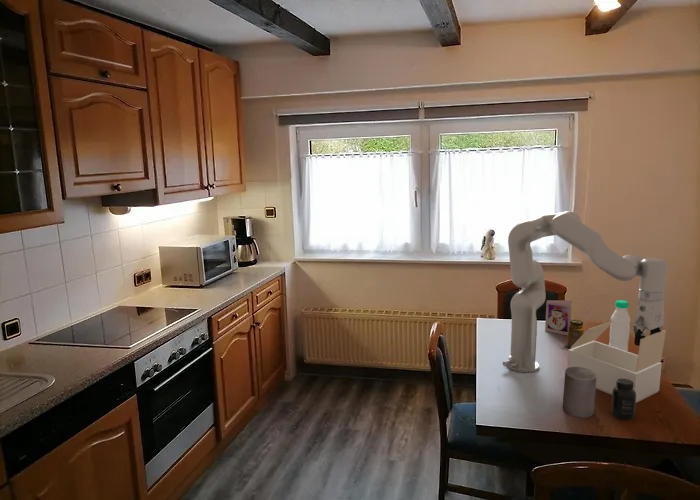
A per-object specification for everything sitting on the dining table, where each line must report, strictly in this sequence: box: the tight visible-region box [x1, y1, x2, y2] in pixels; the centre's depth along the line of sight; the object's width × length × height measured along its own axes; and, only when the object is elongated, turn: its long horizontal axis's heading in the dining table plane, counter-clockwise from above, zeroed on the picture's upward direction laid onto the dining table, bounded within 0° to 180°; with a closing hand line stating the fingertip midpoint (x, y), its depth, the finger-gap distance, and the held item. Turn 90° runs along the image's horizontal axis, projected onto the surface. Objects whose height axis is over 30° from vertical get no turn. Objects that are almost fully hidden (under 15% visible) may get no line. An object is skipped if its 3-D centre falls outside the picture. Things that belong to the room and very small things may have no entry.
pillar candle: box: [562, 367, 597, 419], centre depth 172 cm, size 10×10×15 cm
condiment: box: [561, 319, 585, 351], centre depth 225 cm, size 7×8×12 cm
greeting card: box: [544, 299, 573, 336], centre depth 244 cm, size 11×7×15 cm, turn 50°
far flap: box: [571, 320, 613, 349], centre depth 196 cm, size 15×12×1 cm
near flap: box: [636, 329, 667, 371], centre depth 177 cm, size 15×12×1 cm
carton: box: [566, 340, 663, 404], centre depth 191 cm, size 16×26×11 cm, turn 32°
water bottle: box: [608, 299, 631, 352], centre depth 210 cm, size 7×7×25 cm
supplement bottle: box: [610, 378, 637, 421], centre depth 169 cm, size 7×7×12 cm
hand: (647, 342), depth 178 cm, fingers open, 9 cm apart
